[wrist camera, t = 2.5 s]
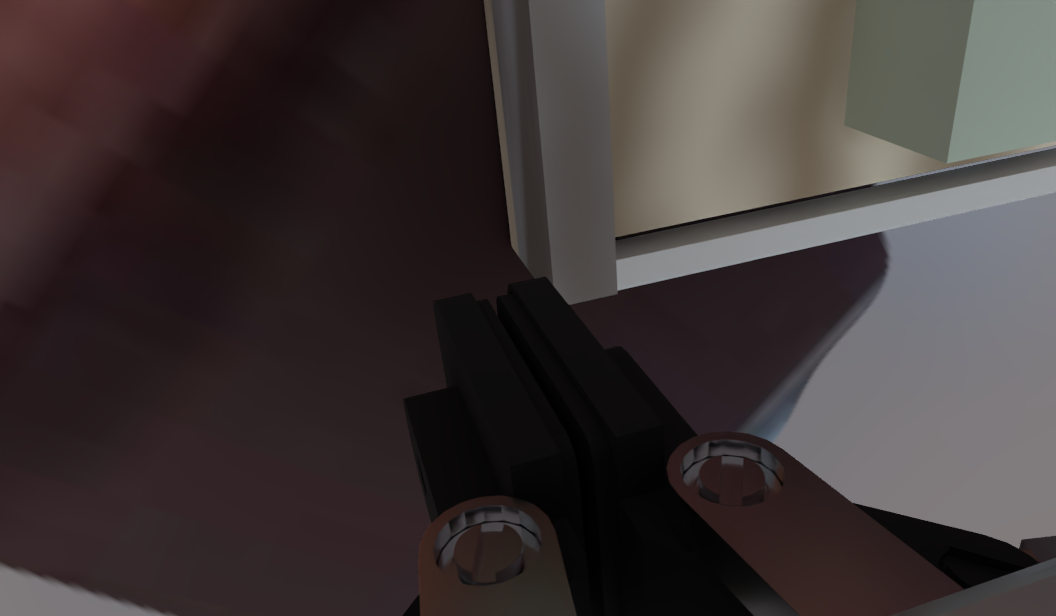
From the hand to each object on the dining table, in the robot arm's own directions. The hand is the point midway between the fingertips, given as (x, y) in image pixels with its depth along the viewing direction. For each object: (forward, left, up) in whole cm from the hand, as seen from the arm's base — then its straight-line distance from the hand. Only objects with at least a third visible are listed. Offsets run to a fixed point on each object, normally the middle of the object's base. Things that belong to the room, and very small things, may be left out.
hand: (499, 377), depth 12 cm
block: (-19, 0, -14) cm, 24 cm away
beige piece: (-16, 0, -15) cm, 22 cm away
